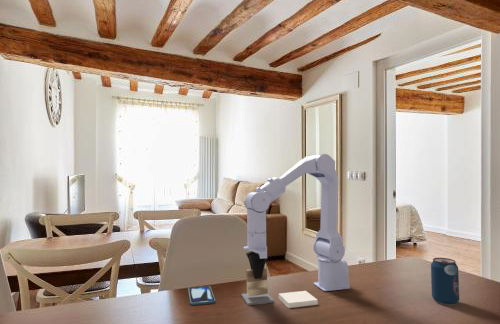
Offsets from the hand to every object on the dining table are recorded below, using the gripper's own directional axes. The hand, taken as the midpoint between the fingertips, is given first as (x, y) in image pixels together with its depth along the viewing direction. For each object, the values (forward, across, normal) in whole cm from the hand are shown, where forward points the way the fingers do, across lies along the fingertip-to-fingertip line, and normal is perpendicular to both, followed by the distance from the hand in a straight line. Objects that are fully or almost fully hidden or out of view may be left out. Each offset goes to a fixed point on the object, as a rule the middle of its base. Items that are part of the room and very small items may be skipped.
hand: (257, 277), depth 101 cm
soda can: (+7, +17, +52) cm, 55 cm away
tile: (+6, +1, +11) cm, 13 cm away
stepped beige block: (+5, 0, 0) cm, 5 cm away
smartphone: (+7, -8, -16) cm, 19 cm away
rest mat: (+6, 0, 0) cm, 6 cm away
